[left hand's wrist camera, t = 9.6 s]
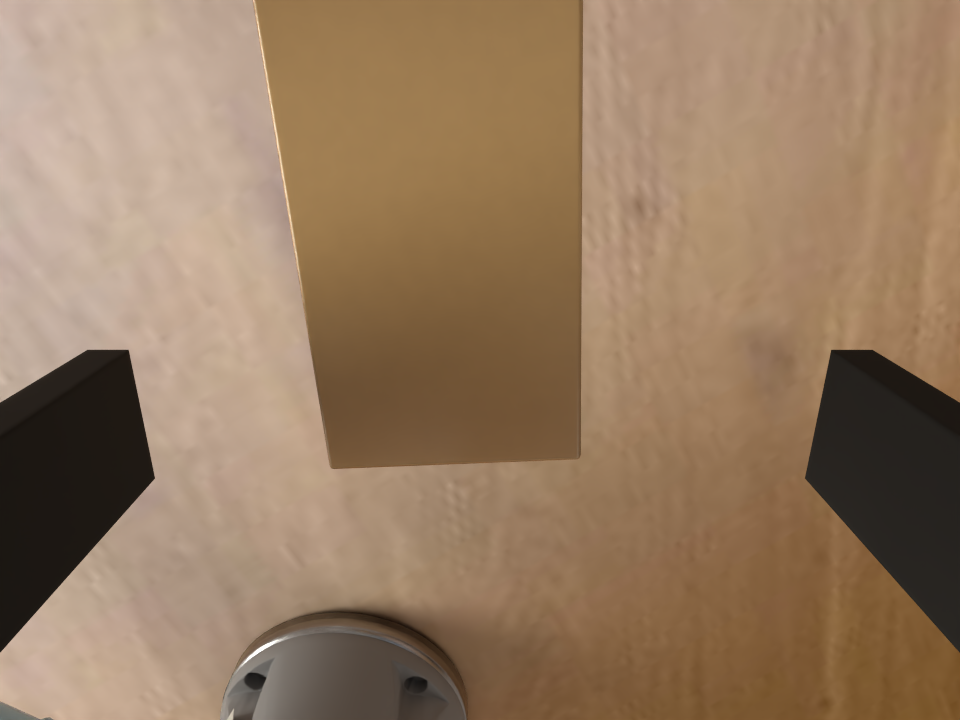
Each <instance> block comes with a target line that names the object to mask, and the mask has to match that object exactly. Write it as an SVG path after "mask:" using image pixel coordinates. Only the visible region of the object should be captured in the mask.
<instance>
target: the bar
mask: <svg viewBox="0 0 960 720" xmlns="http://www.w3.org/2000/svg"><path fill="white" fill-rule="evenodd" d="M253 5H254V11H255V17H256V23H257V29H258V35H259V41H260V47H261V53H262V59H263V65H264V71H265V77H266V83H267V89H268V95H269V101H270V107H271V113H272V119H273V125H274V131H275V138H276V144H277V150H278V156H279V162H280V168H281V174H282V180H283V186H284V192H285V198H286V204H287V210H288V216H289V222H290V228H291V234H292V240H293V246H294V252H295V258H296V265H297V271H298V277H299V283H300V289H301V295H302V301H303V307H304V313H305V319H306V325H307V331H308V337H309V343H310V349H311V355H312V361H313V367H314V373H315V379H316V385H317V391H318V398H319V404H320V410H321V416H322V422H323V428H324V434H325V440H326V446H327V452H328V458H329V464H330V467H331V468H332V469H342V468H367V467H392V466H417V465H442V464H468V463H493V462H518V461H543V460H568V459H578V458H579V457H580V455H581V275H582V84H583V0H253Z"/></svg>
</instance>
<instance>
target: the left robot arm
mask: <svg viewBox="0 0 960 720" xmlns="http://www.w3.org/2000/svg"><path fill="white" fill-rule="evenodd" d="M154 479H155V476H154V471H153V467H152V462H151V457H150V452H149V447H148V442H147V437H146V432H145V428H144V423H143V418H142V413H141V408H140V403H139V398H138V394H137V389H136V384H135V379H134V374H133V369H132V364H131V359H130V355H129V350H87V351H85V352H83V353H82V354H80V355H78V356H77V357H75V358H73V359H72V360H70V361H68V362H67V363H65V364H64V365H62V366H60V367H59V368H57V369H55V370H54V371H52V372H50V373H49V374H47V375H45V376H44V377H42V378H40V379H39V380H37V381H35V382H34V383H32V384H31V385H29V386H27V387H26V388H24V389H22V390H21V391H19V392H17V393H16V394H14V395H12V396H11V397H9V398H7V399H6V400H4V401H2V402H1V403H0V652H1V651H2V650H3V649H4V648H5V647H6V645H7V644H8V643H9V642H10V641H11V640H12V639H13V638H14V636H15V635H16V634H17V633H18V632H19V631H20V630H21V629H22V627H23V626H24V625H25V624H26V623H27V622H28V621H29V620H30V618H31V617H32V616H33V615H34V614H35V613H36V612H37V611H38V609H39V608H40V607H41V606H42V605H43V604H44V603H45V602H46V600H47V599H48V598H49V597H50V596H51V595H52V594H53V592H54V591H55V590H56V589H57V588H58V587H59V586H60V585H61V583H62V582H63V581H64V580H65V579H66V578H67V577H68V576H69V574H70V573H71V572H72V571H73V570H74V569H75V568H76V567H77V565H78V564H79V563H80V562H81V561H82V560H83V559H84V558H85V556H86V555H87V554H88V553H89V552H90V551H91V550H92V549H93V547H94V546H95V545H96V544H97V543H98V542H99V541H100V540H101V538H102V537H103V536H104V535H105V534H106V533H107V532H108V531H109V529H110V528H111V527H112V526H113V525H114V524H115V523H116V522H117V520H118V519H119V518H120V517H121V516H122V515H123V514H124V513H125V511H126V510H127V509H128V508H129V507H130V506H131V505H132V504H133V502H134V501H135V500H136V499H137V498H138V497H139V496H140V495H141V493H142V492H143V491H144V490H145V489H146V488H147V487H148V486H149V484H150V483H151V482H152V481H153V480H154ZM805 479H806V480H807V481H808V482H809V483H810V484H811V486H812V487H813V488H814V489H815V490H816V491H817V492H818V493H819V495H820V496H821V497H822V498H823V499H824V500H825V501H826V502H827V504H828V505H829V506H830V507H831V508H832V509H833V510H834V511H835V513H836V514H837V515H838V516H839V517H840V518H841V519H842V520H843V522H844V523H845V524H846V525H847V526H848V527H849V528H850V529H851V531H852V532H853V533H854V534H855V535H856V536H857V537H858V538H859V540H860V541H861V542H862V543H863V544H864V545H865V546H866V547H867V549H868V550H869V551H870V552H871V553H872V554H873V555H874V556H875V558H876V559H877V560H878V561H879V562H880V563H881V564H882V565H883V567H884V568H885V569H886V570H887V571H888V572H889V573H890V574H891V576H892V577H893V578H894V579H895V580H896V581H897V582H898V583H899V585H900V586H901V587H902V588H903V589H904V590H905V591H906V592H907V594H908V595H909V596H910V597H911V598H912V599H913V600H914V602H915V603H916V604H917V605H918V606H919V607H920V608H921V609H922V611H923V612H924V613H925V614H926V615H927V616H928V617H929V618H930V620H931V621H932V622H933V623H934V624H935V625H936V626H937V627H938V629H939V630H940V631H941V632H942V633H943V634H944V635H945V636H946V638H947V639H948V640H949V641H950V642H951V643H952V644H953V645H954V647H955V648H956V649H957V650H958V651H959V652H960V403H959V402H958V401H956V400H954V399H953V398H951V397H949V396H948V395H946V394H944V393H943V392H941V391H939V390H938V389H936V388H934V387H933V386H931V385H929V384H928V383H926V382H925V381H923V380H921V379H920V378H918V377H916V376H915V375H913V374H911V373H910V372H908V371H906V370H905V369H903V368H901V367H900V366H898V365H896V364H895V363H893V362H892V361H890V360H888V359H887V358H885V357H883V356H882V355H880V354H878V353H877V352H875V351H873V350H831V355H830V359H829V364H828V369H827V374H826V379H825V384H824V389H823V394H822V398H821V403H820V408H819V413H818V418H817V423H816V428H815V432H814V437H813V442H812V447H811V452H810V457H809V462H808V467H807V471H806V476H805ZM467 718H468V701H467V694H466V690H465V687H464V684H463V681H462V679H461V677H460V675H459V673H458V671H457V670H456V668H455V667H454V665H453V664H452V662H451V661H450V660H449V659H448V657H447V656H446V655H445V654H444V653H443V652H442V651H441V650H440V649H439V648H437V647H436V646H435V645H434V644H433V643H431V642H430V641H429V640H427V639H426V638H424V637H423V636H421V635H420V634H418V633H416V632H414V631H413V630H411V629H409V628H406V627H404V626H402V625H400V624H397V623H394V622H392V621H389V620H386V619H382V618H379V617H374V616H369V615H364V614H357V613H343V612H336V613H320V614H313V615H307V616H303V617H299V618H295V619H292V620H290V621H287V622H284V623H282V624H280V625H278V626H276V627H273V628H272V629H270V630H268V631H267V632H265V633H264V634H262V635H261V636H260V637H258V638H257V639H256V640H255V641H254V642H253V643H252V644H251V645H250V646H249V647H248V648H247V649H246V651H245V652H244V653H243V655H242V656H241V658H240V659H239V661H238V663H237V665H236V668H235V670H234V672H233V674H232V677H231V679H230V681H229V683H228V685H227V688H226V690H225V694H224V697H223V703H222V708H221V715H220V720H467ZM0 720H40V719H38V718H36V717H34V716H31V715H29V714H27V713H25V712H23V711H20V710H18V709H16V708H14V707H11V706H9V705H7V704H5V703H3V702H0ZM41 720H53V719H51V718H44V719H41Z"/></svg>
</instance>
